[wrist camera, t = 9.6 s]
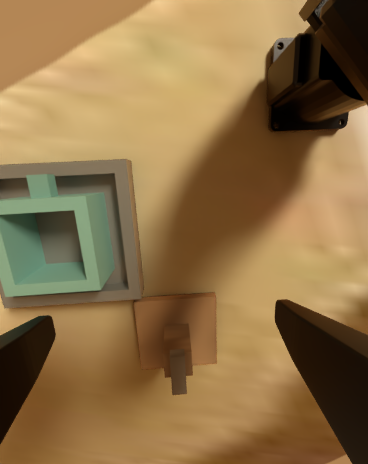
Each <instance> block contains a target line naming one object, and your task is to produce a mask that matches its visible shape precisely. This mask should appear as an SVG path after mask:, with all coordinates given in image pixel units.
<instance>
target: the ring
mask: <svg viewBox="0 0 368 464" xmlns="http://www.w3.org/2000/svg"><path fill="white" fill-rule="evenodd" d="M26 178H27V182H28V187H29V191H30V196H31V197H18V198H10V199H2V200H0V280H1V283H2V287H3V290H4V294H5V297H13V296H26V295H40V294H54V293H68V292H81V291H95V290H101V289H102V288H103V286H104V284H105V283H106V281H107V280H108V278H109V277H110V275H111V274H112V272H113V271H114V269H115V266H114V259H113V252H112V245H111V238H110V231H109V224H108V217H107V210H106V203H105V196H104V192H102V193H85V194H67V195H58V191H57V186H56V181H55V176H54V174H40V175H26ZM70 210H74V212H75V217H76V223H77V228H78V234H79V240H80V245H81V251H82V256H83V262H69V263H54V264H46V261H45V257H44V252H43V248H42V244H41V239H40V235H39V230H38V226H37V221H36V217H35V213H37V212H54V211H70Z"/></svg>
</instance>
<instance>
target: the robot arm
mask: <svg viewBox="0 0 368 464" xmlns="http://www.w3.org/2000/svg"><path fill="white" fill-rule="evenodd" d="M299 15H300V16H301V18H302V19H303V20H304V22H305V21H306V20H307V21H308V23H309V24H310V26H309V28H308V29H307V30H306V31H305V32H304V33H299V34H298V35H297V36H296V37H295V38H280V39H278V40H276V42H275V43H274V45H273V46H272V57H271V66H270V67H269V69H268V86H267V104H268V105H269V130H270V131H271V132H296V131H319V130H338V129H342V128H344V127H345V126H346V125H347V121H348V113H349V111H351V110H354V109H356V108H359V107H362V106H364V105H368V0H307V2H306V3H305V5H304V6H303V8H302V9H301V11H300V12H299ZM277 45H280V46H281V50H279V49H278V47H277ZM339 120H340V121H341V125H339ZM274 123H276V124H277V128H274ZM275 323H276V325H277V327H278V330H279V332H280V334H281V336H282V339H283V341H284V343H285V345H286V347H287V350H288V352H289V354H290V356H291V358H292V360H293V362H294V364H295V366H296V367H297V369H298V371H299V373H300V374H301V376H302V378H303V379H304V381H305V383H306V385H307V386H308V388H309V390H310V392H311V393H312V395H313V397H314V398H315V400H316V402H317V404H318V405H319V407H320V409H321V411H322V412H323V414H324V416H325V418H326V419H327V421H328V423H329V424H330V426H331V428H332V430H333V431H334V433H335V435H336V437H337V438H338V440H339V442H340V443H341V445H342V447H343V449H344V450H345V452H346V454H347V456H348V457H349V459H350V461H351V462H352V464H368V335H366V334H364V333H362V332H360V331H357V330H355V329H353V328H351V327H348V326H346V325H344V324H342V323H339V322H337V321H335V320H333V319H330V318H328V317H326V316H324V315H321V314H319V313H317V312H314V311H312V310H310V309H308V308H305V307H303V306H301V305H299V304H296V303H294V302H292V301H290V300H287V299H283V300H277V301H276V305H275ZM55 336H56V333H55V328H54V324H53V319H52V317H51V316H49V315H46V316H38V317H36V318H34V319H32V320H30V321H28V322H26V323H24V324H22V325H20V326H18V327H16V328H14V329H12V330H10V331H8V332H6V333H5V334H3V335H1V336H0V444H1V443H2V441H3V439H4V437H5V435H6V434H7V432H8V430H9V428H10V427H11V425H12V423H13V421H14V419H15V418H16V416H17V414H18V412H19V410H20V409H21V407H22V405H23V403H24V402H25V400H26V398H27V396H28V394H29V393H30V391H31V389H32V387H33V385H34V384H35V382H36V380H37V378H38V376H39V374H40V371H41V369H42V367H43V365H44V362H45V360H46V358H47V356H48V354H49V351H50V349H51V347H52V345H53V342H54V340H55Z"/></svg>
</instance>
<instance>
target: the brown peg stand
mask: <svg viewBox="0 0 368 464" xmlns="http://www.w3.org/2000/svg"><path fill="white" fill-rule="evenodd" d="M134 310H135V318H136V327H137V335H138V344H139V352H140V360H141V369H142V370H143V369H156V368H164V372H165V378H166V377H171V381H172V394H173V395H180V394H187V387H186V376H190V375H193V371H192V366H193V365H206V364H217V341H216V295H215V293H214V292H212V293H198V294H183V295H169V296H154V297H142V298H141V299H135V300H134Z"/></svg>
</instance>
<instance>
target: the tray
mask: <svg viewBox="0 0 368 464" xmlns="http://www.w3.org/2000/svg"><path fill="white" fill-rule="evenodd" d="M40 174H54V176H55V181H56V186H57V191H58V195H67V194H85V193H102V192H104V196H105V203H106V210H107V217H108V224H109V231H110V238H111V245H112V252H113V259H114V266H115V269H114V271H113V272H112V274H111V275H110V277H109V278H108V280H107V281H106V283H105V284H104V286H103V288H102V289H101V290H95V291H81V292H68V293H54V294H40V295H26V296H13V297H5V294H4V290H3V287H2V283H1V280H0V294H1V298H2V301H3V305H4V308H19V307H33V306H48V305H62V304H77V303H91V302H106V301H120V300H135V299H141V298H142V294H143V290H144V282H143V272H142V263H141V253H140V243H139V233H138V224H137V214H136V204H135V195H134V185H133V175H132V166H131V161H130V160H127V159H117V160H96V161H74V162H52V163H31V164H9V165H0V200H2V199H10V198H18V197H31V196H30V191H29V187H28V182H27V178H26V175H40ZM35 217H36V221H37V226H38V230H39V235H40V239H41V244H42V248H43V252H44V257H45V261H46V264H54V263H69V262H83V256H82V251H81V245H80V240H79V234H78V228H77V223H76V217H75V212H74V210H70V211H54V212H37V213H35Z"/></svg>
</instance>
